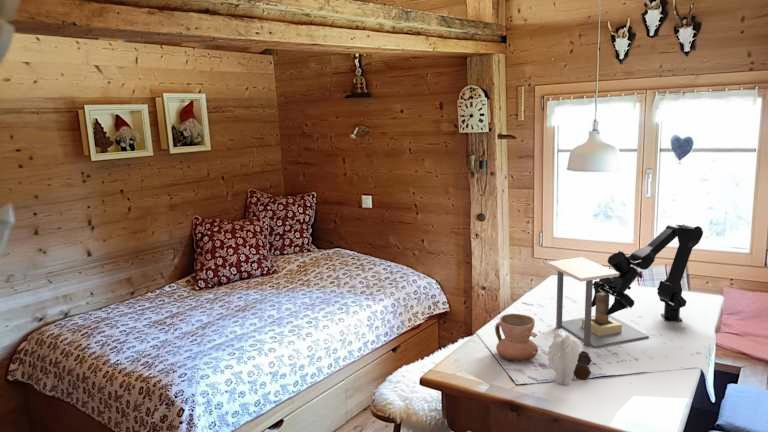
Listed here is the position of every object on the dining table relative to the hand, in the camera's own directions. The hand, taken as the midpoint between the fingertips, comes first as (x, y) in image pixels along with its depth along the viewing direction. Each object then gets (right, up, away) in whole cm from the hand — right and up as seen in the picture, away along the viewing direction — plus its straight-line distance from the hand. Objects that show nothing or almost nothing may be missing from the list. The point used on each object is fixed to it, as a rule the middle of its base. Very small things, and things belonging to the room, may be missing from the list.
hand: (599, 310), depth 224 cm
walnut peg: (+2, -7, +2) cm, 8 cm away
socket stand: (-1, -8, +1) cm, 9 cm away
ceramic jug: (-36, -14, -16) cm, 42 cm away
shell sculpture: (-25, -18, -36) cm, 47 cm away
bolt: (-16, -16, -28) cm, 35 cm away
